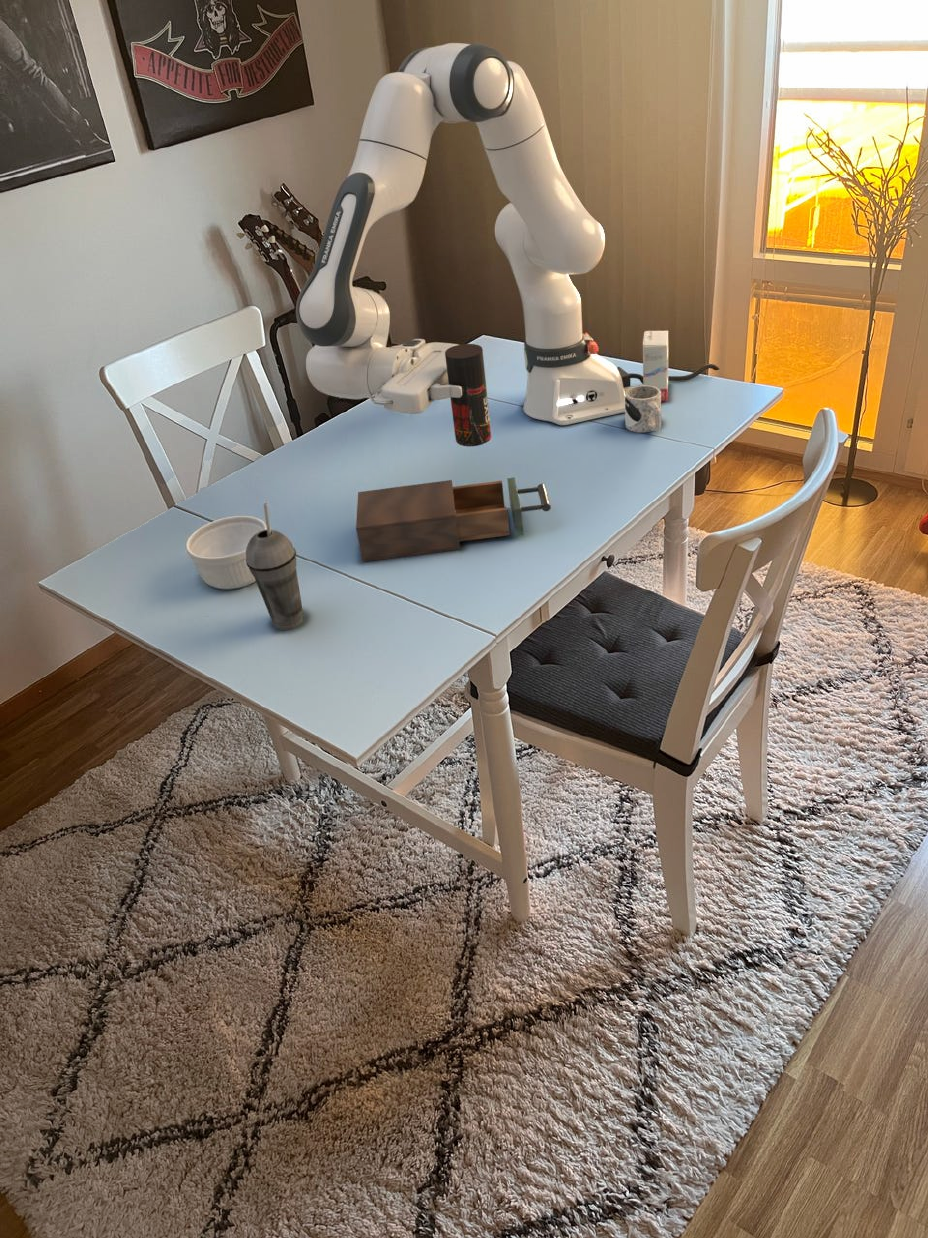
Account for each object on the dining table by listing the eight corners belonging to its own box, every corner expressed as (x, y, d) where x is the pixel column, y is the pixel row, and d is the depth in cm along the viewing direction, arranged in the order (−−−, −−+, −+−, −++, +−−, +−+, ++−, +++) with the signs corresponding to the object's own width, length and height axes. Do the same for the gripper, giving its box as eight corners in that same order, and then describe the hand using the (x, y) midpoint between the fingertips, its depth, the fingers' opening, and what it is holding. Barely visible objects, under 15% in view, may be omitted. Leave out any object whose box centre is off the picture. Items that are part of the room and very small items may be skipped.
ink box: (667, 402, 192) (667, 345, 185) (642, 402, 193) (642, 346, 186) (668, 384, 199) (669, 328, 192) (644, 385, 200) (644, 329, 193)
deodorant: (456, 431, 162) (445, 345, 153) (491, 428, 162) (482, 342, 153) (455, 447, 157) (443, 359, 148) (491, 444, 157) (482, 356, 148)
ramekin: (181, 589, 156) (168, 553, 152) (225, 546, 166) (214, 511, 162) (250, 599, 152) (239, 562, 148) (291, 554, 161) (282, 518, 157)
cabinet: (456, 513, 166) (451, 479, 162) (460, 549, 156) (455, 515, 153) (364, 524, 166) (358, 491, 163) (362, 562, 157) (355, 527, 153)
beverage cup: (259, 616, 147) (226, 502, 136) (305, 601, 149) (275, 488, 138) (271, 641, 142) (237, 524, 130) (318, 625, 144) (288, 509, 132)
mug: (619, 422, 187) (619, 390, 183) (650, 414, 189) (650, 382, 185) (643, 442, 180) (643, 409, 176) (675, 433, 181) (675, 400, 177)
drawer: (545, 499, 165) (543, 473, 162) (553, 531, 156) (551, 504, 153) (429, 514, 165) (425, 488, 162) (431, 547, 157) (426, 520, 154)
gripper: (362, 382, 149) (441, 389, 144) (421, 334, 164) (495, 338, 158) (368, 420, 153) (446, 427, 148) (425, 369, 168) (498, 375, 162)
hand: (472, 381), depth 153 cm, fingers closed on deodorant, 6 cm apart
